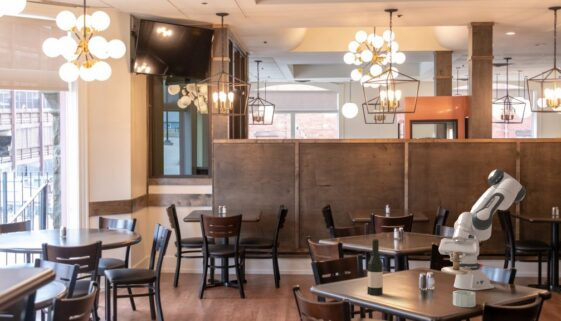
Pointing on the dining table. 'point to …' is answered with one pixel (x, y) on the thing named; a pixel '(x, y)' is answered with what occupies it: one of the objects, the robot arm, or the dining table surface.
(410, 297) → the dining table surface
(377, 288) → the wine bottle
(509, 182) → the robot arm
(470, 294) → the bowl
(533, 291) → the dining table surface
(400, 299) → the dining table surface
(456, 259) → the lid
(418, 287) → the dining table surface
